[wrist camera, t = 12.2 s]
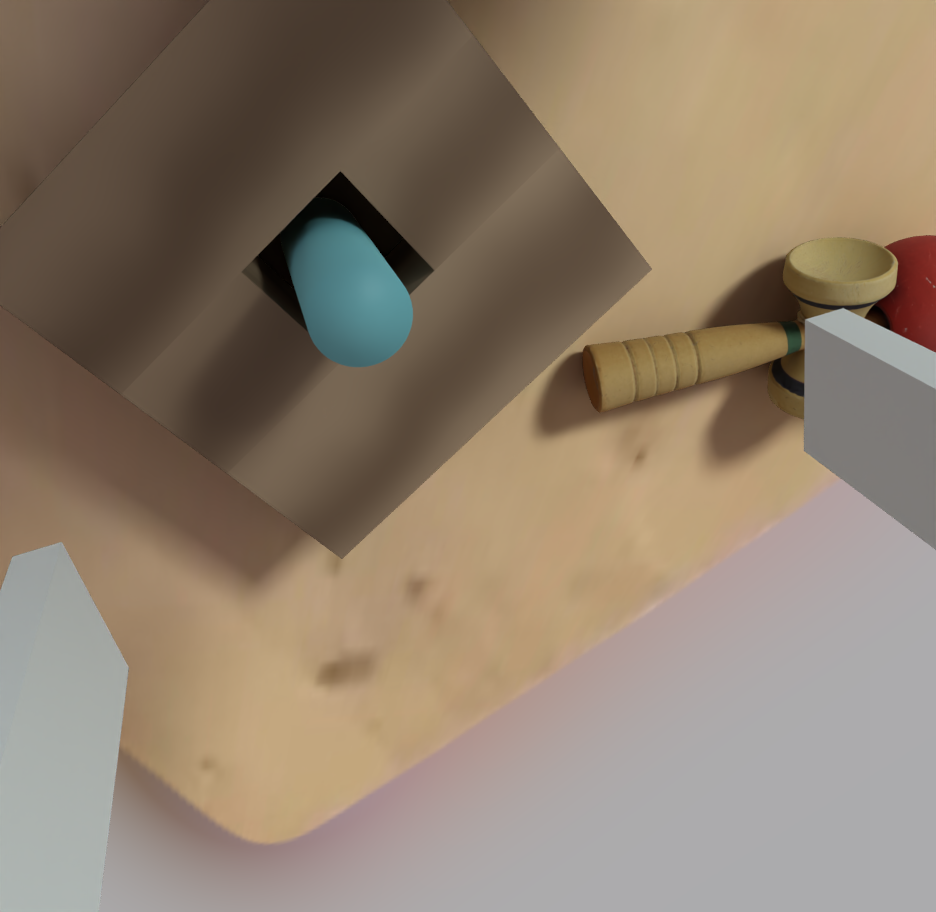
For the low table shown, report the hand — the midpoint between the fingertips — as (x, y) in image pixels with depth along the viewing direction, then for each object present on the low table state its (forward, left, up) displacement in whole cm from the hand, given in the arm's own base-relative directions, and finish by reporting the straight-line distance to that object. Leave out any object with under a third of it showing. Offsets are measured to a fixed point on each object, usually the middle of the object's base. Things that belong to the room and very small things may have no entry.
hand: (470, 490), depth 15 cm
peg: (0, 0, -21) cm, 21 cm away
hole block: (0, 0, -21) cm, 21 cm away
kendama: (+17, +11, -21) cm, 29 cm away
